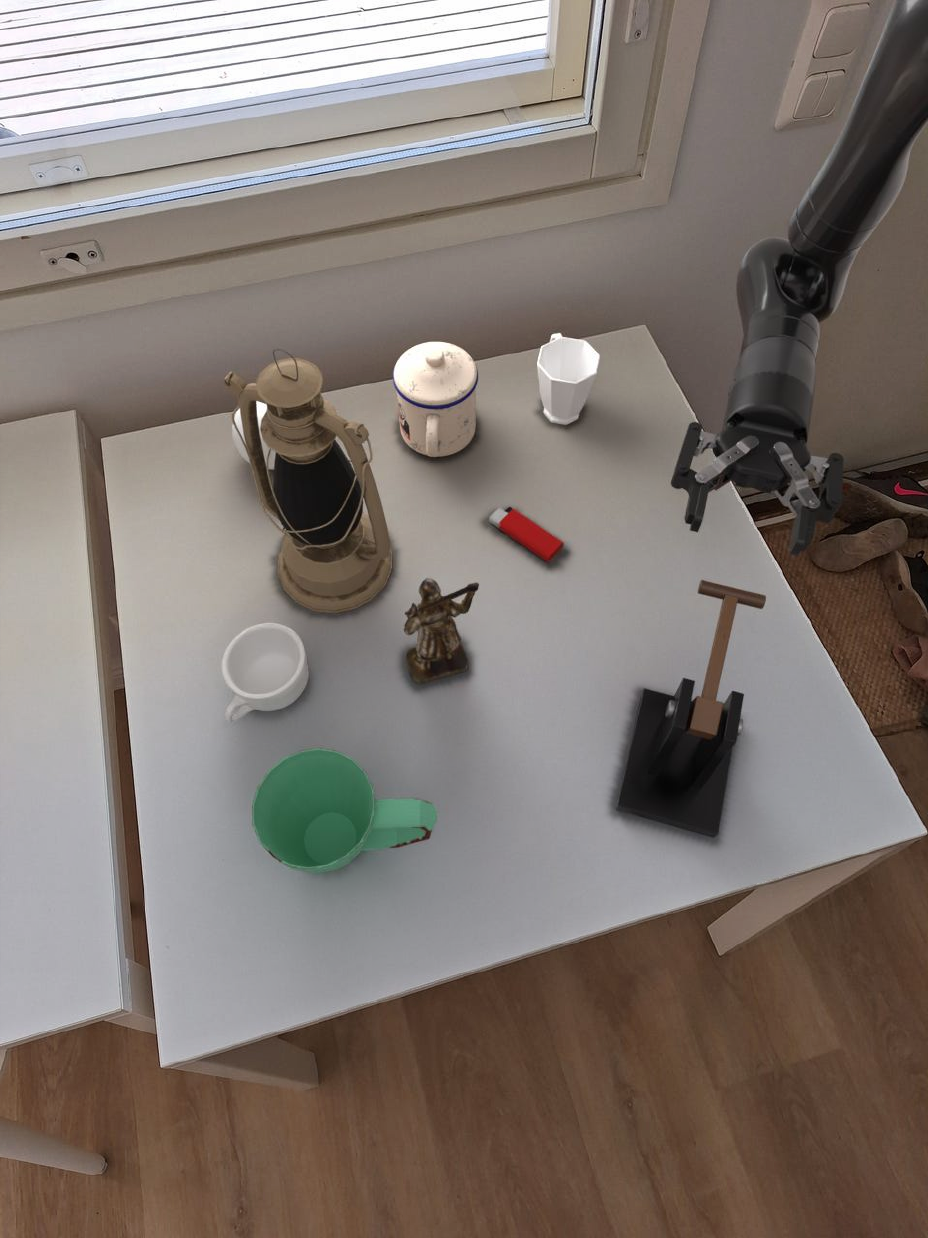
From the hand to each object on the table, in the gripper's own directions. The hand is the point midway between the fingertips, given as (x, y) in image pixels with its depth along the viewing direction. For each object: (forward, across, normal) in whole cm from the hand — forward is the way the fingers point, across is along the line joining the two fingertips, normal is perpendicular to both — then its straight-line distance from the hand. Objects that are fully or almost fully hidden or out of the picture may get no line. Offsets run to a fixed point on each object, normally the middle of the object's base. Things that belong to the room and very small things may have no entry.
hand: (746, 538), depth 75 cm
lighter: (-6, -20, +16) cm, 26 cm away
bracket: (+15, 0, +16) cm, 22 cm away
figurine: (+11, -24, +16) cm, 31 cm away
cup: (-25, -21, +16) cm, 36 cm away
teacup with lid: (-16, -33, +16) cm, 40 cm away
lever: (+10, 0, +5) cm, 11 cm away
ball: (-8, -50, +16) cm, 53 cm away
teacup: (+19, -39, +16) cm, 47 cm away
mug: (+30, -26, +16) cm, 43 cm away
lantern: (+3, -38, +16) cm, 42 cm away
